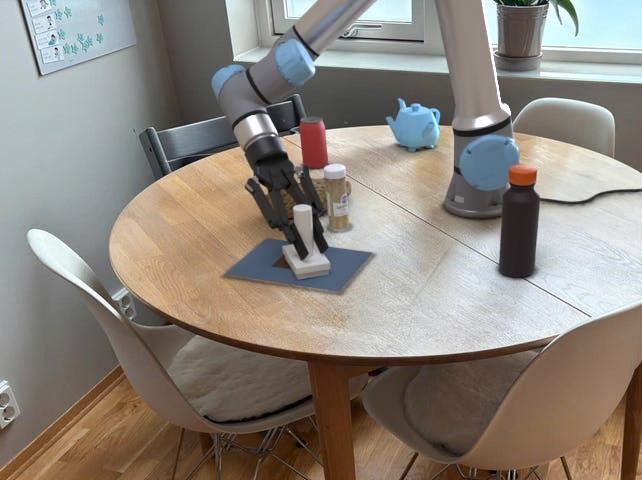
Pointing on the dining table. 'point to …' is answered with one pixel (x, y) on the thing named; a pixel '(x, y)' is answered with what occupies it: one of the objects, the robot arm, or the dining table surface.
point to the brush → (314, 261)
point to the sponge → (319, 187)
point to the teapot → (415, 126)
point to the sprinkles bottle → (336, 196)
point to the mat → (274, 268)
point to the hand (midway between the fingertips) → (314, 253)
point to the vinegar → (519, 223)
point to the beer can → (313, 142)
